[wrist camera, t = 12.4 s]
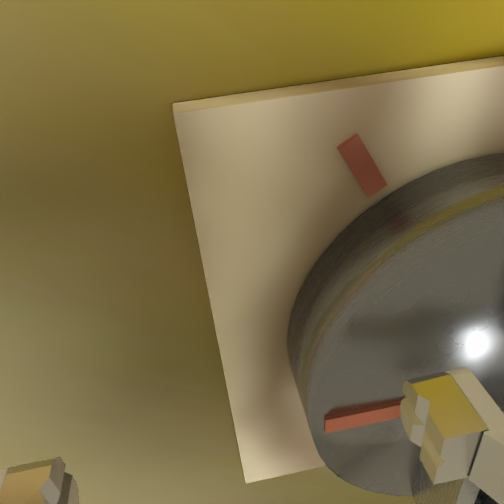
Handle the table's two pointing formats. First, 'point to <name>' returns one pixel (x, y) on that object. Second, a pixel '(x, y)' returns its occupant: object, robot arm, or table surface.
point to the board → (309, 210)
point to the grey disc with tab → (402, 323)
